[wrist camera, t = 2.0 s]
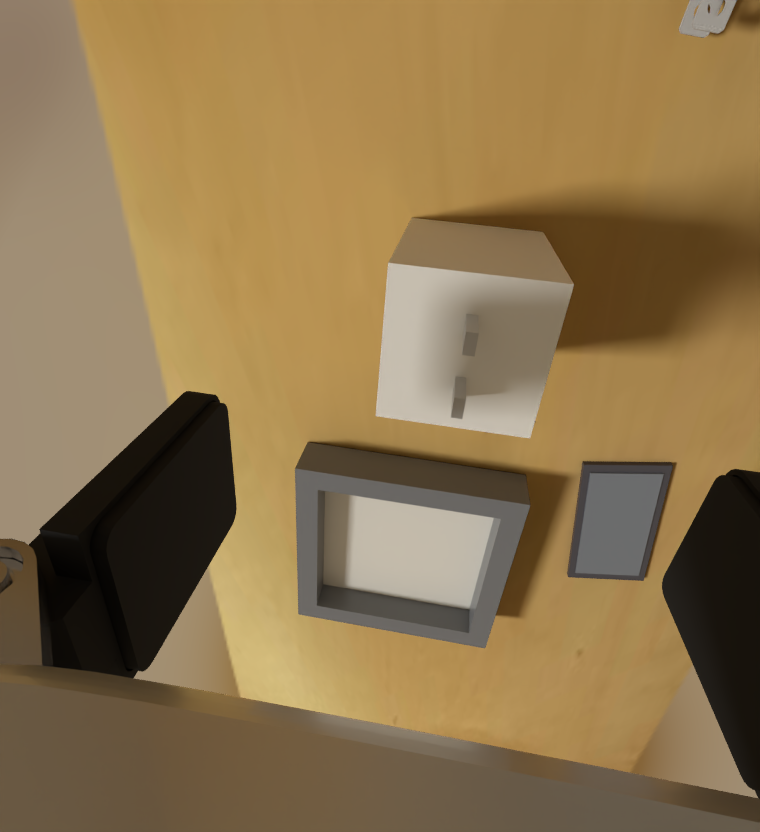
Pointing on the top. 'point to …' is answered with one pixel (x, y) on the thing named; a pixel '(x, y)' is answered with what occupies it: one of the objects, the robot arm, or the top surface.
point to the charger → (470, 326)
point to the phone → (617, 518)
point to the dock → (405, 542)
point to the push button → (705, 17)
